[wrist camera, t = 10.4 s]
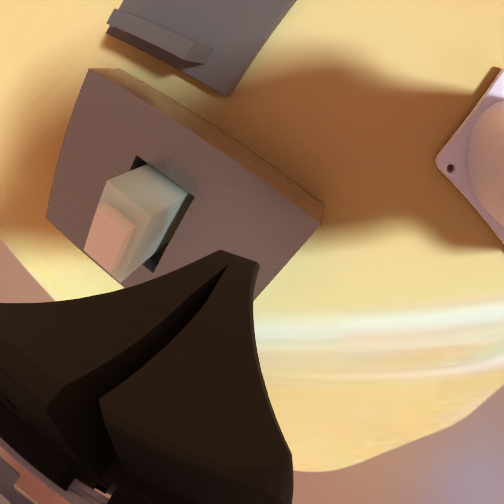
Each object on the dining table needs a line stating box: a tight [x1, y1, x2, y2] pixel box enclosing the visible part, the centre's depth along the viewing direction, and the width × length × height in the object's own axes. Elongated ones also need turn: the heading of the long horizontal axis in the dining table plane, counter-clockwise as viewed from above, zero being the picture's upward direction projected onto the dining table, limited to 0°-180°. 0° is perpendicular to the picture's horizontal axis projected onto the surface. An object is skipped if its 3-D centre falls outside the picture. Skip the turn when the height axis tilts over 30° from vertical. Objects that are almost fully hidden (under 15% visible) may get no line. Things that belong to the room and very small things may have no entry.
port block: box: [46, 68, 325, 301], centre depth 19 cm, size 16×12×3 cm
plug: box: [84, 164, 195, 283], centre depth 17 cm, size 3×5×7 cm, turn 145°
